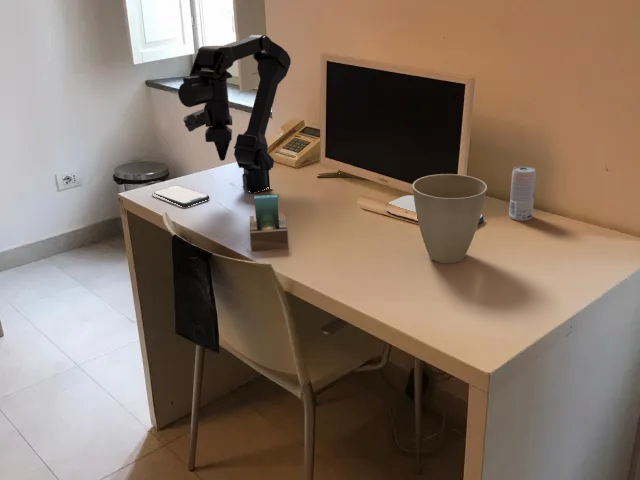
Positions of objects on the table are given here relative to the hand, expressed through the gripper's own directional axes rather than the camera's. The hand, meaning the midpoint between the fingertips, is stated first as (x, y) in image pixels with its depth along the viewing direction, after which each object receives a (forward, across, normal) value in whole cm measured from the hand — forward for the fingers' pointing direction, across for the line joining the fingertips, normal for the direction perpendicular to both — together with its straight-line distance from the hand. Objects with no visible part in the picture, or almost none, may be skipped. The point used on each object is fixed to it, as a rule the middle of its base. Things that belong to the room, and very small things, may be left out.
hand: (222, 160), depth 174 cm
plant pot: (+12, +42, +47) cm, 64 cm away
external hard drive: (+13, +18, +51) cm, 55 cm away
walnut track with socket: (+12, +24, +10) cm, 28 cm away
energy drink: (+12, +24, +70) cm, 75 cm away
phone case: (+13, -8, -12) cm, 19 cm away
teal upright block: (+12, +26, +10) cm, 30 cm away
